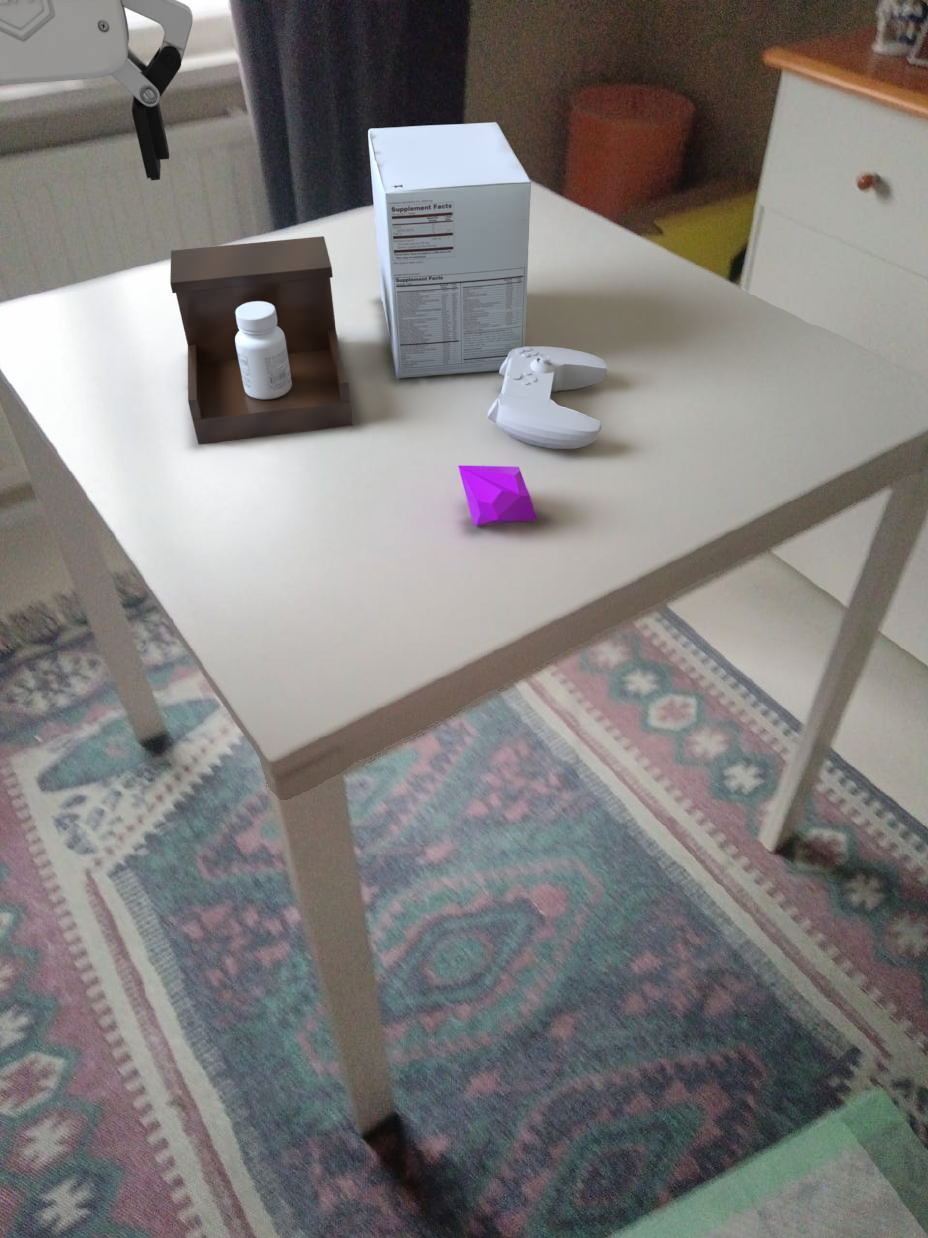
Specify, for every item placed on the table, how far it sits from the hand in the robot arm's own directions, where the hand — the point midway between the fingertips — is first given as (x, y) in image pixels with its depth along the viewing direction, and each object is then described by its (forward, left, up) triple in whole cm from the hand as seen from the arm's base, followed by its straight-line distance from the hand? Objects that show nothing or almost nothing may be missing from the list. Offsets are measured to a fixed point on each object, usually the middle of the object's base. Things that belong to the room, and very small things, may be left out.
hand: (72, 178), depth 58 cm
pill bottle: (+9, +18, -26) cm, 33 cm away
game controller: (+34, +12, -28) cm, 46 cm away
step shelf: (+9, +22, -28) cm, 37 cm away
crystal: (+26, -2, -28) cm, 39 cm away
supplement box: (+28, +29, -28) cm, 49 cm away
